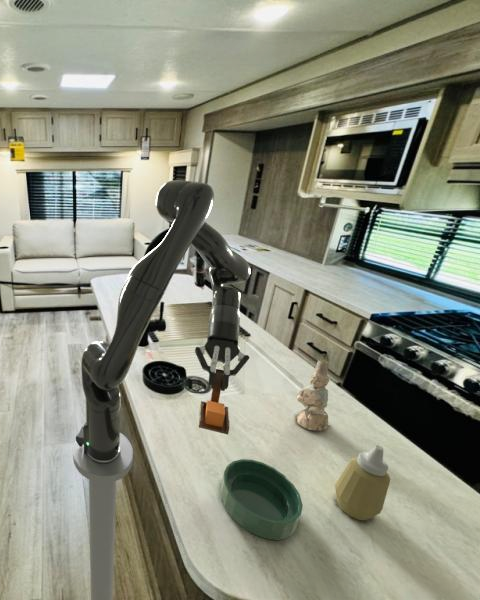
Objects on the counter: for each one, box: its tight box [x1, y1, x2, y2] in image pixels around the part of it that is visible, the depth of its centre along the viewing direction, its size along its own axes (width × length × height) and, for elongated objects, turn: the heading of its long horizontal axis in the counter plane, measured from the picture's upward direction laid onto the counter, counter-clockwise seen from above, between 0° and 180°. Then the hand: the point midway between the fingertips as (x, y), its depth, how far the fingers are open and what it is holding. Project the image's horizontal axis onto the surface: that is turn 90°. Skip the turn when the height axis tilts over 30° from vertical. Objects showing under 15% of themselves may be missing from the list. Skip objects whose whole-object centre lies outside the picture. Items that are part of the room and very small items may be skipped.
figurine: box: [296, 360, 331, 431], centre depth 90 cm, size 9×8×20 cm
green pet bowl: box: [220, 458, 303, 541], centre depth 70 cm, size 15×15×6 cm
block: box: [205, 400, 226, 427], centre depth 77 cm, size 4×4×4 cm
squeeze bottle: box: [334, 445, 391, 521], centre depth 67 cm, size 8×8×18 cm
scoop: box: [198, 368, 230, 436], centre depth 77 cm, size 9×7×12 cm
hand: (217, 389), depth 78 cm, fingers closed on scoop
